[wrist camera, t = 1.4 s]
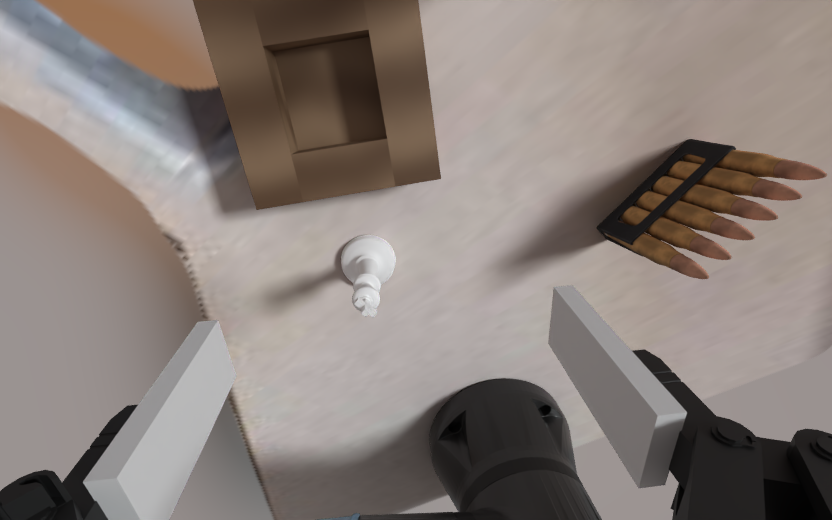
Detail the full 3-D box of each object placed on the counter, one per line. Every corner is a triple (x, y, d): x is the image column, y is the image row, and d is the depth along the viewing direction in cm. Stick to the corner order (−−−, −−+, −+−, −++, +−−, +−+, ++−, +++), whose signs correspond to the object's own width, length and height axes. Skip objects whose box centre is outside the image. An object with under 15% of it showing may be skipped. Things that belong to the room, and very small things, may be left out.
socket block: (434, 170, 34) (440, 178, 31) (270, 198, 34) (256, 209, 30) (408, -23, 29) (412, -42, 25) (214, 7, 29) (190, -8, 25)
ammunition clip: (688, 138, 35) (833, 153, 24) (700, 152, 36) (846, 173, 25) (596, 227, 38) (688, 279, 26) (608, 240, 38) (703, 295, 27)
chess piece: (372, 295, 38) (371, 356, 29) (329, 264, 36) (313, 318, 27) (406, 256, 37) (416, 307, 28) (363, 223, 35) (358, 265, 26)
